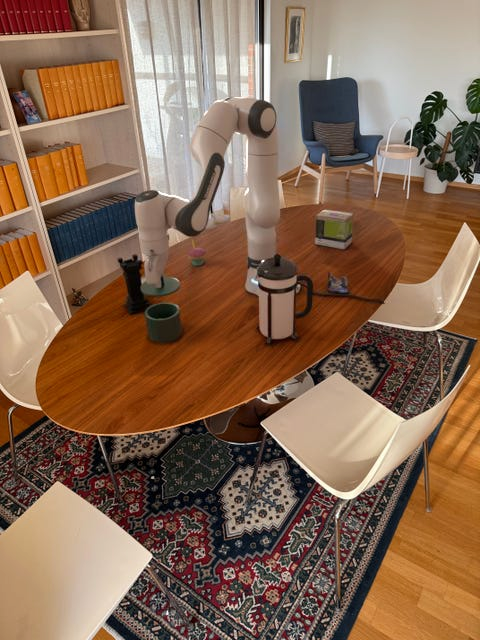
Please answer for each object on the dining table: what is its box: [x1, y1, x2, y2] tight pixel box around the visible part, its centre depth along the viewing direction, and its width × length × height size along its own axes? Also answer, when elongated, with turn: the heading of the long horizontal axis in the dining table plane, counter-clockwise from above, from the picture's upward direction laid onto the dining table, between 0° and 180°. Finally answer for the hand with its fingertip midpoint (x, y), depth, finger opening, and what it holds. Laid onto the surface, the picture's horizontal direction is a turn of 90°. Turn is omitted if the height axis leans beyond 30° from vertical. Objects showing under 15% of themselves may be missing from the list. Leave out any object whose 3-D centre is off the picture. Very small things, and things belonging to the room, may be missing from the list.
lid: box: [141, 275, 181, 298], centre depth 152 cm, size 13×13×5 cm
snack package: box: [326, 271, 350, 294], centre depth 185 cm, size 12×6×12 cm
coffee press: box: [254, 253, 314, 346], centre depth 153 cm, size 17×16×30 cm
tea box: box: [314, 209, 355, 250], centre depth 220 cm, size 15×10×15 cm
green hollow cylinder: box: [144, 302, 183, 344], centre depth 161 cm, size 12×12×10 cm
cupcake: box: [187, 239, 208, 267], centre depth 208 cm, size 9×8×12 cm
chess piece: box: [116, 253, 151, 315], centre depth 175 cm, size 8×8×20 cm
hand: (160, 283), depth 152 cm, fingers closed on lid, 2 cm apart
